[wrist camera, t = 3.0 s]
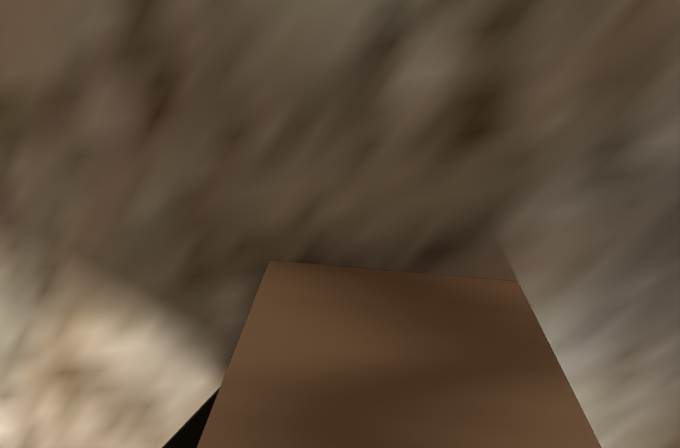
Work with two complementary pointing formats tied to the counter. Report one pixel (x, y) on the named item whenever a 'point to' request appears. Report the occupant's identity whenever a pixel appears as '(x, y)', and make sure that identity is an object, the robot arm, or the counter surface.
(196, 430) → the robot arm
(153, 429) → the counter surface
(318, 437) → the walnut block
